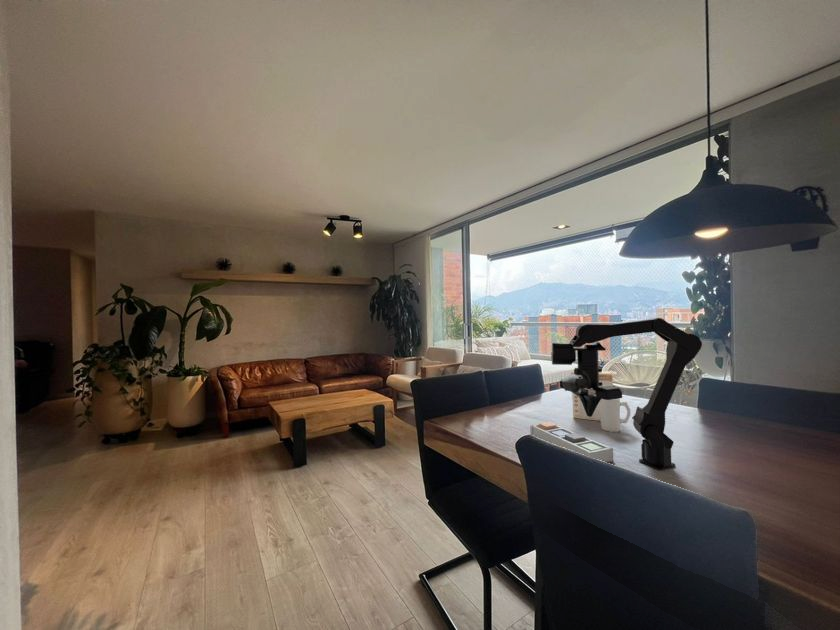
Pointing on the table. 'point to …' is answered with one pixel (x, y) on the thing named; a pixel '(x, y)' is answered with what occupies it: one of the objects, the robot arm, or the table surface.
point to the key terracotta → (547, 426)
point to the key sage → (590, 447)
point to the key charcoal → (574, 438)
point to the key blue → (559, 433)
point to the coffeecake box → (580, 411)
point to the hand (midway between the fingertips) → (589, 416)
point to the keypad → (600, 454)
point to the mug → (612, 414)
